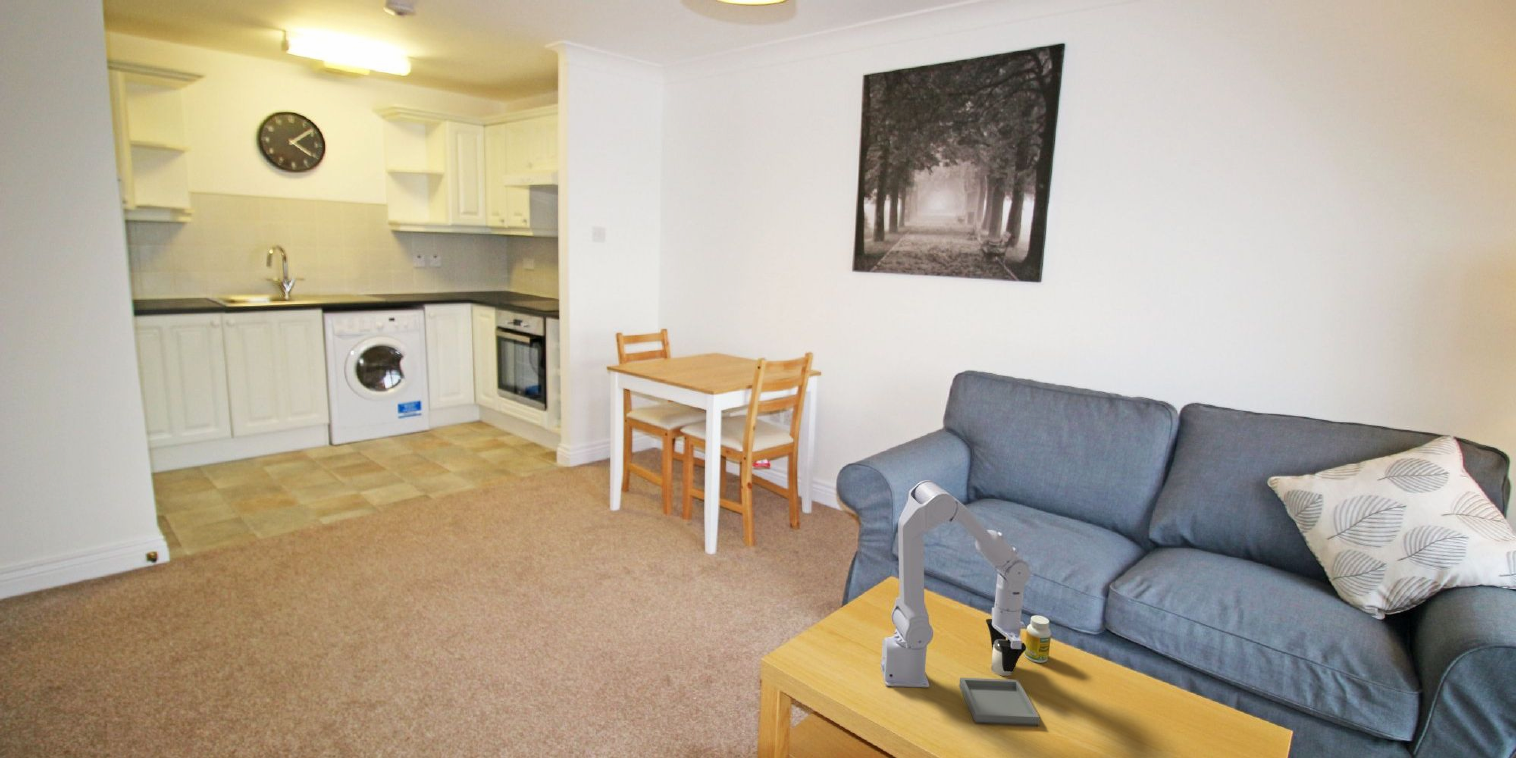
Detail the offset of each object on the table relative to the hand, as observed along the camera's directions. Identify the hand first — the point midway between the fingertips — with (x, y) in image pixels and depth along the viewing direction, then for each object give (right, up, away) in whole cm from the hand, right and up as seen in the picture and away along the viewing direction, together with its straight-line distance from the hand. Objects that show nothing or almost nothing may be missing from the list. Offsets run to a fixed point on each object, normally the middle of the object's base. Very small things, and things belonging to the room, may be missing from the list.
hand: (1002, 660), depth 164 cm
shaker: (0, -2, 0) cm, 2 cm away
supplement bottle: (+10, -2, +6) cm, 12 cm away
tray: (-5, -4, -12) cm, 14 cm away
